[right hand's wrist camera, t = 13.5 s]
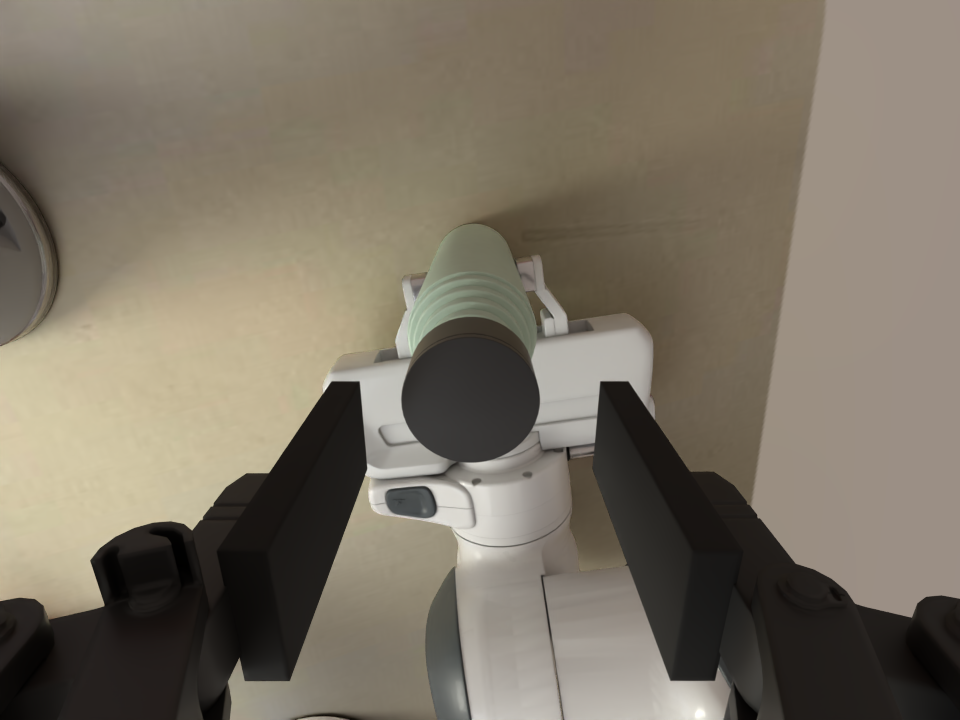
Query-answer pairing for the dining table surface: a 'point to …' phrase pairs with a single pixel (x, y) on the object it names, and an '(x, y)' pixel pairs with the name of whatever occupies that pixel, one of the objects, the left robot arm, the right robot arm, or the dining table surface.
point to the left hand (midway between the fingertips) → (470, 266)
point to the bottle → (473, 286)
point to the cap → (470, 390)
